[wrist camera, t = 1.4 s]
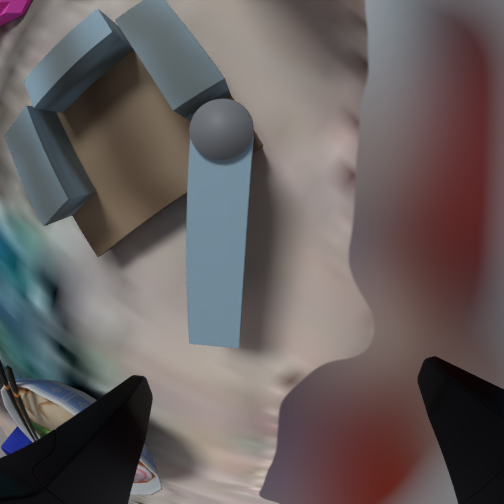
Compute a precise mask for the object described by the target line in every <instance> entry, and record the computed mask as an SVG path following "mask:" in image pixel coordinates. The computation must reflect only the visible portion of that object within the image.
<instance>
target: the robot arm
mask: <svg viewBox="0 0 504 504" xmlns="http://www.w3.org/2000/svg"><path fill="white" fill-rule="evenodd" d="M418 385H419V388H420V391H421V394H422V398H423V401H424V404H425V407H426V410H427V414H428V417H429V420H430V423H431V425H432V428H433V430H434V433H435V435H436V438H437V440H438V443H439V445H440V448H441V451H442V454H443V456H444V460H445V462H446V465H447V468H448V471H449V474H450V477H451V480H452V484H453V487H454V490H455V493H456V497H457V501H458V504H504V389H502V388H500V387H498V386H496V385H494V384H491V383H489V382H487V381H485V380H483V379H481V378H479V377H477V376H475V375H473V374H471V373H469V372H467V371H465V370H463V369H461V368H459V367H457V366H454V365H452V364H450V363H448V362H446V361H444V360H442V359H440V358H438V357H436V356H434V357H429V358H426V359H425V360H424V362H423V364H422V367H421V369H420V372H419V375H418ZM152 400H153V397H152V392H151V390H150V387H149V384H148V382H147V379H146V378H145V377H144V376H138V375H133V376H131V377H129V378H128V379H127V380H125V381H124V382H122V383H121V384H119V385H118V386H117V387H115V388H114V389H112V390H111V391H110V392H108V393H107V394H105V395H104V396H102V397H101V398H100V399H98V400H97V401H95V402H94V403H92V404H91V405H89V406H88V407H87V408H85V409H84V410H82V411H81V412H79V413H78V414H76V415H75V416H73V417H72V418H70V419H69V420H67V421H66V422H64V423H63V424H61V425H60V426H58V427H57V428H56V430H55V429H54V430H52V431H51V432H49V433H48V434H46V435H45V436H43V437H41V438H40V439H38V440H36V441H35V442H33V443H31V444H29V445H27V446H25V447H23V448H21V449H19V450H17V451H15V452H13V453H11V454H8V455H7V456H4V457H2V458H0V504H128V501H129V497H130V493H131V489H132V485H133V482H134V478H135V474H136V471H137V467H138V464H139V460H140V457H141V453H142V450H143V447H144V443H145V439H146V434H147V428H148V423H149V417H150V411H151V406H152Z"/></svg>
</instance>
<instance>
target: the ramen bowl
mask: <svg viewBox="0 0 504 504" xmlns="http://www.w3.org/2000/svg"><path fill="white" fill-rule="evenodd" d="M4 370H5V372H6V375H7V378H8V380H9V382H8V380H7V378H6V375H5V372H4ZM0 378H1V380H2V383H3V385H4V386H3V387H2V389H1V390H0V391H1V395H2V399H3V402H4V406H5V407H6V409H7V411H8V412H9V414H10V415H11V417H12V419H13V420H14V422H15V423H16V425H17V426H18V427H19V428H20V429H21V430H22V432H23V433H24V434H25V435H26V436H27V437H28V438H29V439H30V440H31V441H32V442H35V441H36V440H38V439H40V438H41V437H43V436H45V435H46V434H48V433H49V432H51V431H52V430H54V429H55V430H56V428H57V427H58V426H60V425H61V424H63V423H64V422H66V421H67V420H69V419H70V418H72V417H73V416H75V415H76V414H78V413H79V412H81V411H82V410H84V409H85V408H87V407H88V406H89V405H91V404H92V403H94V402H95V401H97V400H96V399H94V398H92V397H91V396H89V395H88V394H86V393H85V392H82V391H80V390H77V389H75V388H72V387H70V386H68V385H65V384H63V383H60V382H58V381H53V380H44V379H33V378H26V379H16V380H15V378H14V375H13V371H12V368H10V367H9V366H8V365H7V366H6V368H5V369H3V367H2V364H1V361H0ZM161 489H162V486H161V483H160V480H159V476H158V473H157V469H156V465H155V463H154V461H153V458H152V456H151V454H150V452H149V450H148V448H147V447H146V445H145V443H144V447H143V450H142V453H141V457H140V460H139V464H138V467H137V471H136V474H135V478H134V482H133V485H132V489H131V493H130V494H132V495H153V494H154V493H156V492H158V491H160V490H161Z"/></svg>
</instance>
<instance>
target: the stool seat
mask: <svg viewBox="0 0 504 504" xmlns="http://www.w3.org/2000/svg"><path fill="white" fill-rule="evenodd" d="M115 21H116V23H117V24H118V25H116V24H115V23H114V22H113V21H112V20H111V19H109V18H108V17H107V16H106V15H105V14H104V13H102V12H101V11H100V10H99V9H97V10H95V11H94V12H93V13H92V14H90V15H89V16H88V17H87V18H86V19H84V20H83V21H82V22H81V23H80V24H78V25H77V26H76V27H75V28H74V29H73V30H72V31H71V32H69V33H68V34H67V35H66V36H65V37H64V38H63V39H62V40H61V41H60V42H59V43H58V44H57V45H56V46H55V47H54V48H53V49H52V50H51V51H50V52H49V53H48V54H47V55H46V56H45V57H44V58H43V59H42V61H41V62H40V63H39V64H38V65H37V66H36V67H35V68H34V70H33V71H32V72H31V73H30V74H29V76H28V77H27V78H26V79H25V80H24V82H25V85H26V88H27V91H28V94H29V97H30V100H31V103H32V105H33V107H32V106H26V107H25V108H24V110H23V111H22V112H21V114H20V115H19V116H18V118H17V119H16V120H15V122H14V123H13V125H12V126H11V127H10V129H9V130H8V132H7V133H6V135H5V138H6V141H7V144H8V147H9V150H10V153H11V155H12V158H13V161H14V163H15V166H16V168H17V171H18V173H19V176H20V178H21V181H22V183H23V185H24V187H25V190H26V192H27V194H28V196H29V198H30V200H31V203H32V205H33V207H34V209H35V211H36V213H37V215H38V217H39V219H40V220H41V222H42V224H43V226H46V225H48V224H51V223H53V222H56V221H58V220H61V219H64V218H66V217H69V216H73V217H74V219H75V221H76V223H77V224H78V226H79V228H80V229H81V231H82V233H83V234H84V236H85V238H86V239H87V241H88V242H89V244H90V246H91V247H92V249H93V250H94V252H95V253H96V255H97V257H99V256H101V255H102V254H104V253H105V252H107V251H108V250H110V249H111V248H112V247H114V246H115V245H116V244H117V243H119V242H120V241H121V240H123V239H124V238H125V237H127V236H128V235H129V234H130V233H132V232H133V231H134V230H136V229H137V228H139V227H140V226H141V225H143V224H144V223H145V222H147V221H148V220H149V219H151V218H152V217H154V216H155V215H156V214H158V213H159V212H161V211H162V210H164V209H165V208H166V207H168V206H169V205H171V204H172V203H174V202H175V201H177V200H178V199H180V198H181V197H182V196H184V195H185V194H187V187H188V165H189V148H190V133H189V128H190V122H191V119H192V117H193V115H194V114H195V112H196V111H197V110H198V109H199V108H200V107H201V106H202V105H204V104H205V103H207V102H209V101H212V100H215V99H230V100H233V101H234V99H233V98H232V96H231V94H230V91H229V89H228V86H227V83H226V80H225V78H224V77H223V75H222V74H221V72H220V71H219V69H218V68H217V67H216V65H215V64H214V62H213V61H212V60H211V58H210V57H209V56H208V54H207V53H206V52H205V50H204V49H203V48H202V46H201V45H200V44H199V42H198V41H197V40H196V38H195V37H194V36H193V34H192V33H191V32H190V31H189V29H188V28H187V27H186V25H185V24H184V23H183V22H182V20H181V19H180V18H179V17H178V15H177V14H176V13H175V12H174V11H173V9H172V8H171V7H170V6H169V5H168V3H167V2H166V1H165V0H143V1H142V2H140V3H139V4H137V5H136V6H134V7H133V8H131V9H130V10H128V11H127V12H125V13H124V14H122V15H121V16H120V17H118V18H117V19H115ZM262 147H263V144H262V142H261V141H260V139H259V138H258V136H257V134H256V133H255V131H254V141H253V152H255V151H256V150H258V149H260V148H262Z"/></svg>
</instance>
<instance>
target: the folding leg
mask: <svg viewBox="0 0 504 504" xmlns="http://www.w3.org/2000/svg"><path fill="white" fill-rule="evenodd" d="M189 133H190V148H189V165H188V187H187V225H186V270H187V308H188V330H189V343H190V344H199V345H208V346H219V347H230V348H239V340H240V328H241V316H242V300H243V285H244V269H245V254H246V240H247V225H248V211H249V196H250V182H251V168H252V155H253V141H254V129H253V121H252V118H251V115H250V114H249V112H248V111H247V109H246V108H245V107H244V106H243V105H241V104H240V103H238V102H236V101H233V100H230V99H215V100H212V101H209V102H207V103H205V104H204V105H202V106H201V107H200V108H199V109H198V110H197V111H196V112H195V114H194V115H193V117H192V119H191V122H190V128H189Z"/></svg>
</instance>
